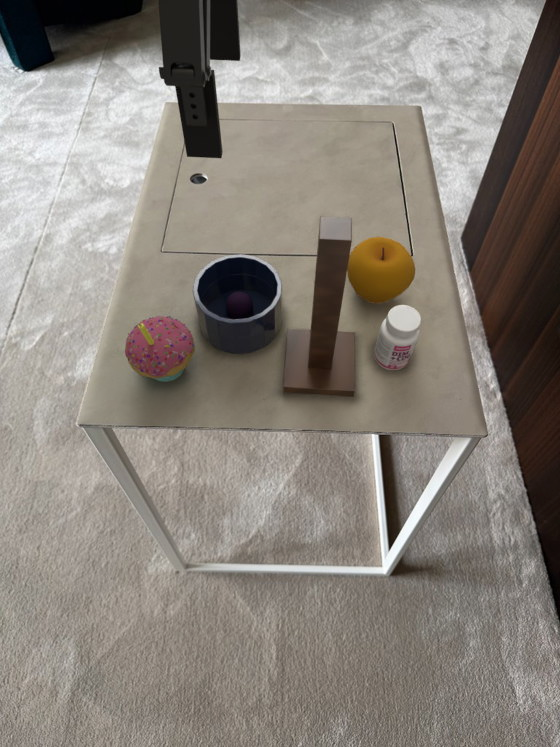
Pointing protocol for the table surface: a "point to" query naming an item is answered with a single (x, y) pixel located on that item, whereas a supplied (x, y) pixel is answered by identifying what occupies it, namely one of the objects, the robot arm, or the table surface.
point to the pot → (231, 278)
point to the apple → (380, 269)
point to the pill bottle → (397, 337)
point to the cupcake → (160, 348)
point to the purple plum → (239, 306)
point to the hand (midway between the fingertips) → (216, 103)
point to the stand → (324, 323)
